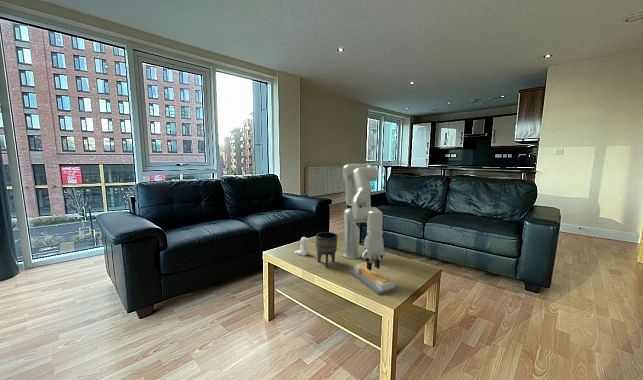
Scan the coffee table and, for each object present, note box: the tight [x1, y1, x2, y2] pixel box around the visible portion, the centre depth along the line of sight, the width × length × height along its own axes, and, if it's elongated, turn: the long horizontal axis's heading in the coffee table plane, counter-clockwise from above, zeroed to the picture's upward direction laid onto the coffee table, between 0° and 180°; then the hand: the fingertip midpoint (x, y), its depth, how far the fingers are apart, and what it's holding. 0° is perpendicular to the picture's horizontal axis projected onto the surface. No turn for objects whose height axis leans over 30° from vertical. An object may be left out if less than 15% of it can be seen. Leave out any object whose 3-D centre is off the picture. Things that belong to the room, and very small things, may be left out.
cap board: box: [349, 262, 399, 296], centre depth 134 cm, size 25×12×4 cm, turn 25°
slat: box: [357, 263, 389, 284], centre depth 133 cm, size 22×4×4 cm, turn 26°
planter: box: [315, 231, 338, 268], centre depth 155 cm, size 13×13×18 cm
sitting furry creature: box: [294, 236, 310, 257], centre depth 170 cm, size 10×9×12 cm
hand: (373, 268), depth 133 cm, fingers open, 4 cm apart
